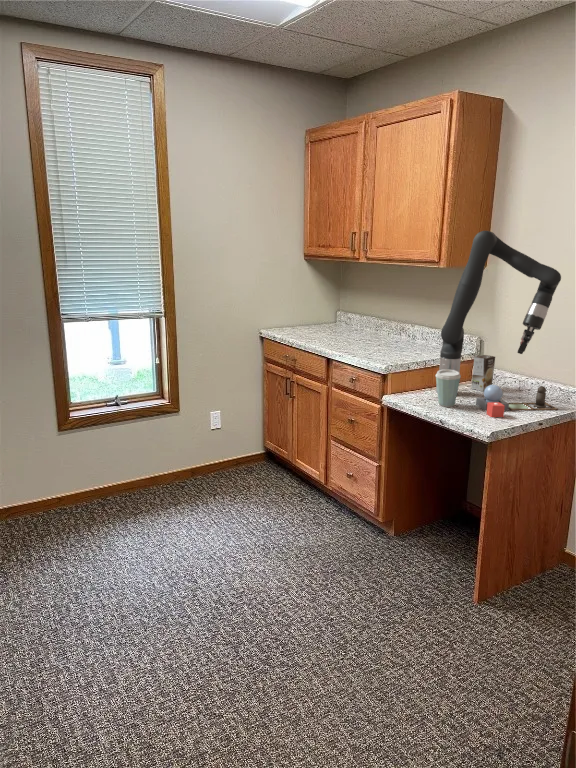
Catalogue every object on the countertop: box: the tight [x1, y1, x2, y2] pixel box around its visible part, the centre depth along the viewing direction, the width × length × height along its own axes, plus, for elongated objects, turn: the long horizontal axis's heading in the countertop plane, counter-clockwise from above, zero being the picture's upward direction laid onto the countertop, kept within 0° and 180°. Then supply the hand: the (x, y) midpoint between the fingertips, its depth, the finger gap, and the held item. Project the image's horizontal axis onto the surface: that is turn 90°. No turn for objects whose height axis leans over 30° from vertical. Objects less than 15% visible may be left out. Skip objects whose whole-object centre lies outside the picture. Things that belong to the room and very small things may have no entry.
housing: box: [475, 397, 509, 412], centre depth 242 cm, size 10×10×3 cm
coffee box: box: [470, 354, 496, 392], centre depth 272 cm, size 9×6×16 cm
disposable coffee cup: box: [435, 369, 462, 408], centre depth 243 cm, size 11×11×15 cm
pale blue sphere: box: [483, 384, 504, 402], centre depth 241 cm, size 8×8×9 cm
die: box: [486, 402, 505, 419], centre depth 230 cm, size 5×5×5 cm
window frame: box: [507, 401, 559, 412], centre depth 244 cm, size 21×10×1 cm, turn 94°
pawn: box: [533, 385, 547, 409], centre depth 243 cm, size 5×5×9 cm
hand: (520, 352), depth 237 cm, fingers open, 8 cm apart
